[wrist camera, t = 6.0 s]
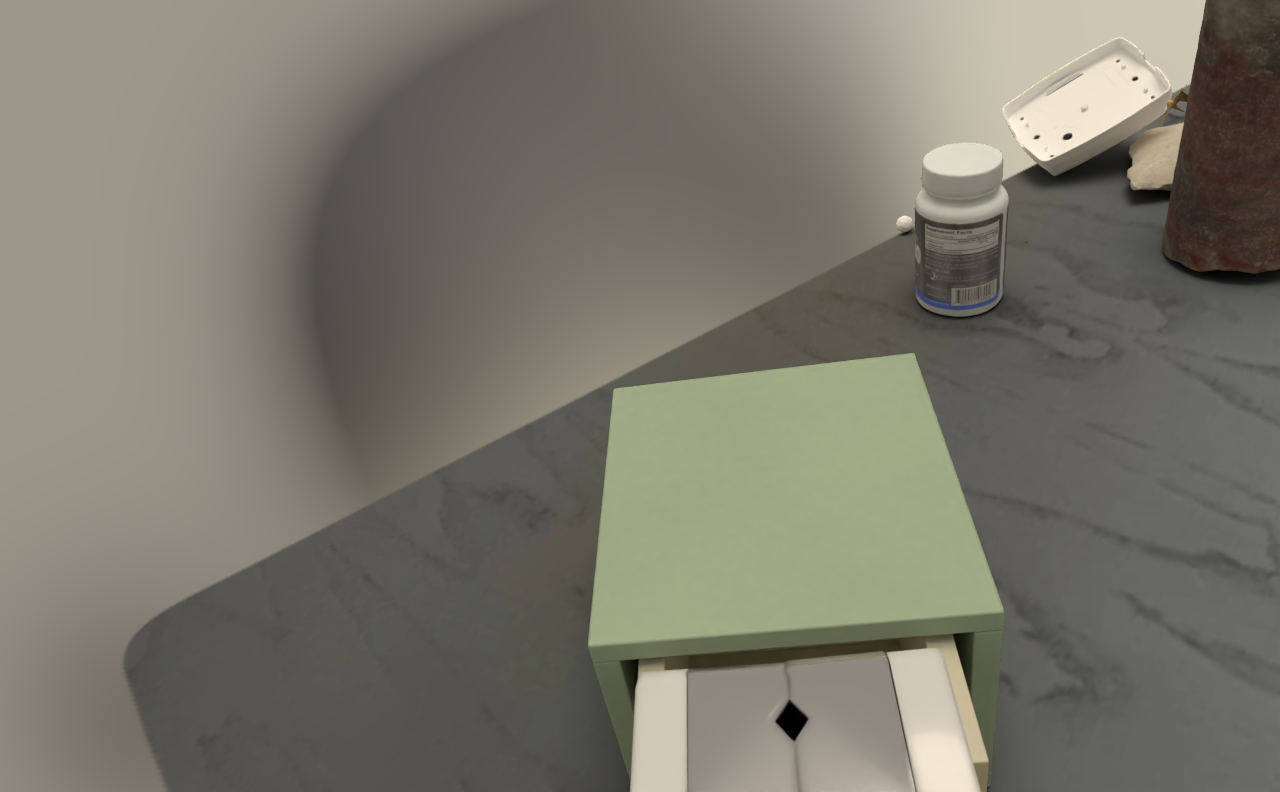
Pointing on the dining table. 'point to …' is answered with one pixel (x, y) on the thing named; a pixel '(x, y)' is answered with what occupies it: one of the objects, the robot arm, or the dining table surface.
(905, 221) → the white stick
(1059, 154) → the white plastic casing
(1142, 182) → the decorative stone
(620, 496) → the cabinet
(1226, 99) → the rusty brown cylinder
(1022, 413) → the dining table surface
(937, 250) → the pill bottle
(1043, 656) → the dining table surface
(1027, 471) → the dining table surface
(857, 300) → the dining table surface
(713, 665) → the drawer
